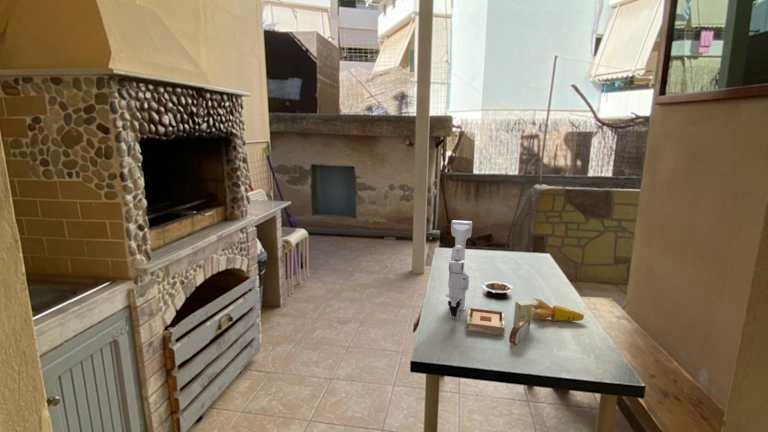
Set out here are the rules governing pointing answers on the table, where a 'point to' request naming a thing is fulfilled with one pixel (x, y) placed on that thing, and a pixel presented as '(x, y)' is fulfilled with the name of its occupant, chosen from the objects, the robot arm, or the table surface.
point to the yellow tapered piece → (554, 312)
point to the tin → (518, 331)
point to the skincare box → (523, 311)
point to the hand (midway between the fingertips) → (454, 314)
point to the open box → (483, 327)
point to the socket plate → (485, 318)
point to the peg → (454, 317)
